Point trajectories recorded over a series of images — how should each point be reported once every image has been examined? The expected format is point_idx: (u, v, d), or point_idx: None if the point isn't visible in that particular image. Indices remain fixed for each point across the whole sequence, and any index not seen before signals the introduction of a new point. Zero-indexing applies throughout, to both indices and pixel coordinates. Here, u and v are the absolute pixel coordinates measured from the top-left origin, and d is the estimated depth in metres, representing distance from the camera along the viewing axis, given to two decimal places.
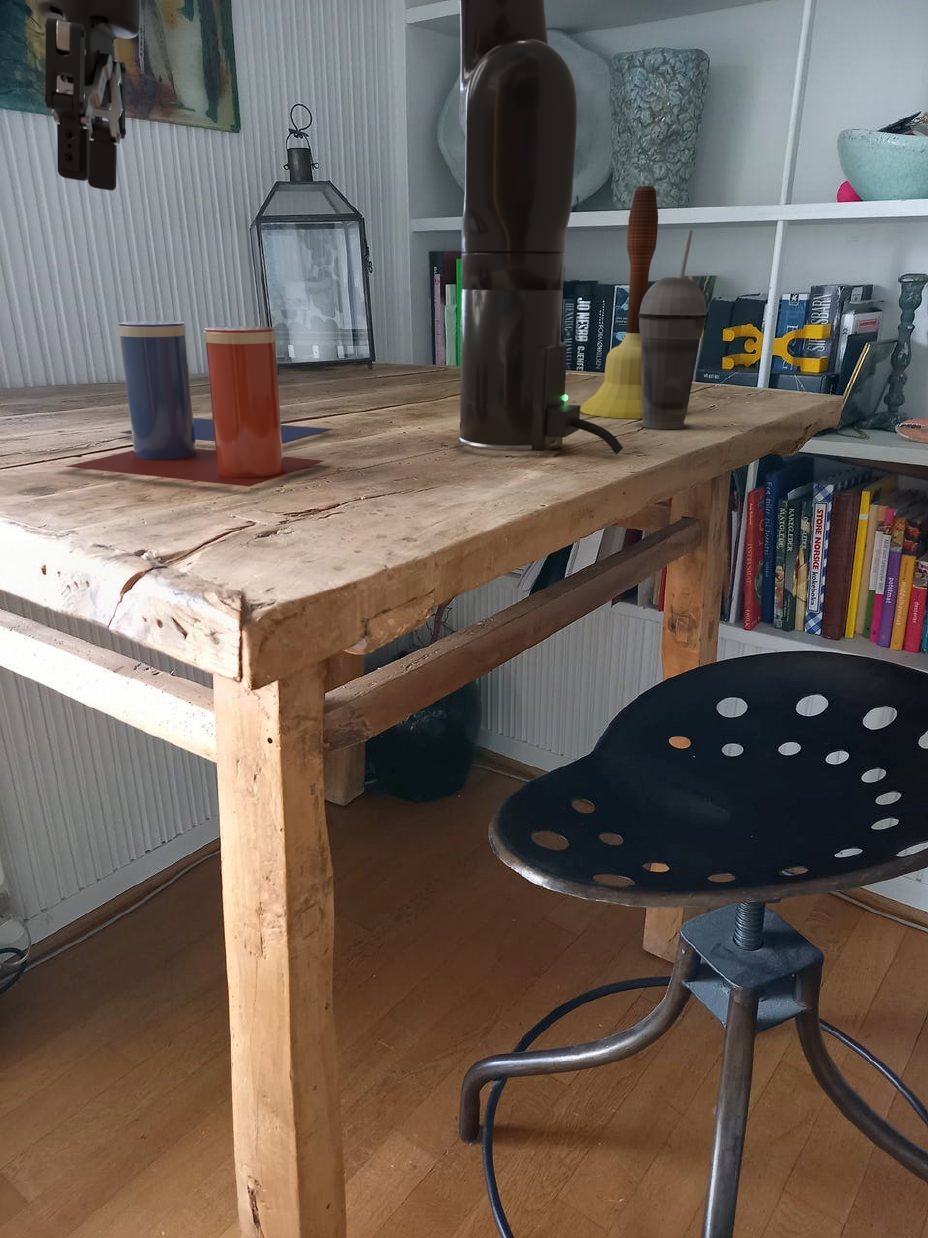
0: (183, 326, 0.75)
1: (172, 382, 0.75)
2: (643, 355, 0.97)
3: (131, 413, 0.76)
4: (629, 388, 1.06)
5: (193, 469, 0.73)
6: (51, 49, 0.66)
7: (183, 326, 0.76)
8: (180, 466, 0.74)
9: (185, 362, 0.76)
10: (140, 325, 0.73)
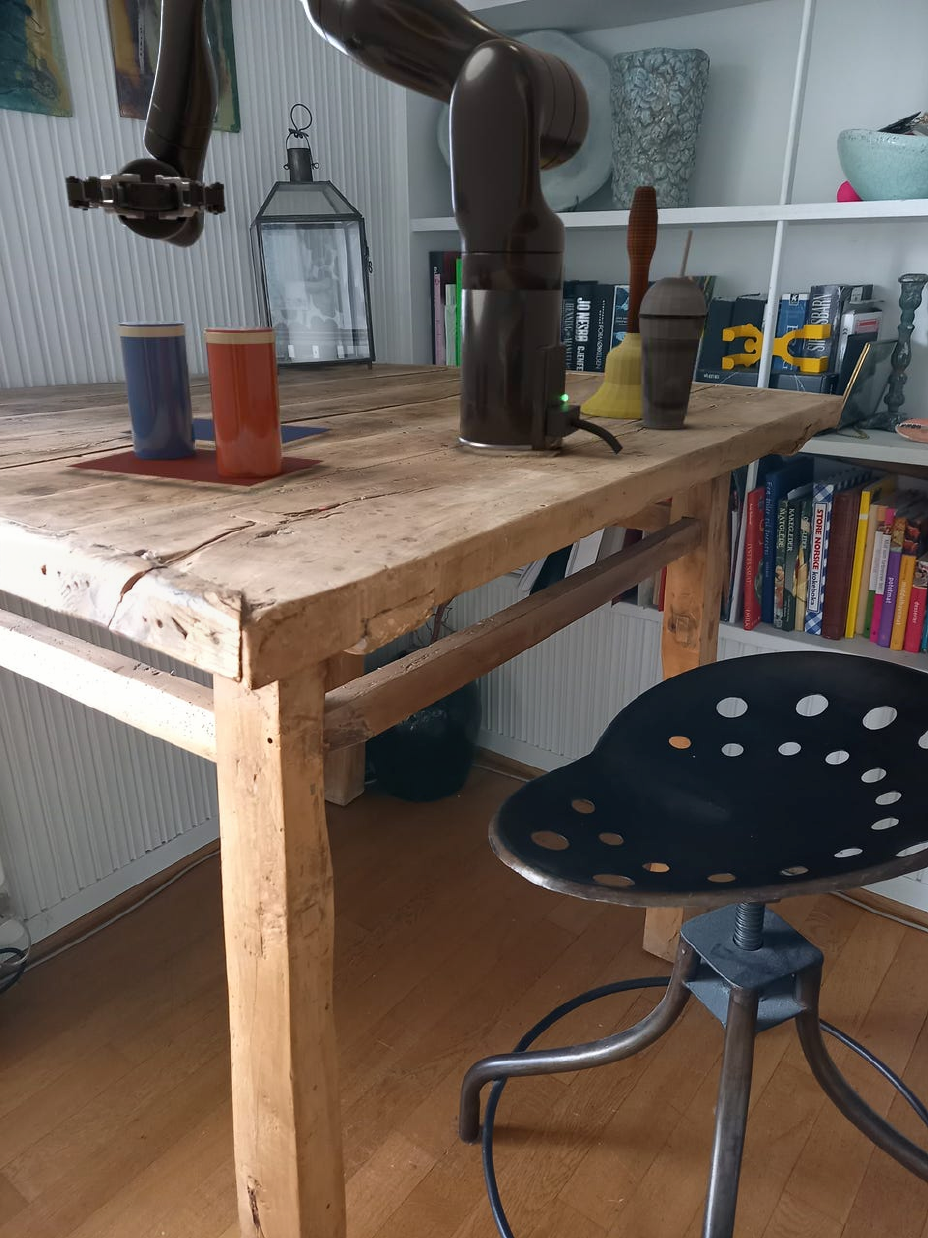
0: (183, 326, 0.75)
1: (172, 382, 0.75)
2: (643, 355, 0.97)
3: (131, 413, 0.76)
4: (629, 388, 1.06)
5: (193, 469, 0.73)
6: None
7: (183, 326, 0.76)
8: (180, 466, 0.74)
9: (185, 362, 0.76)
10: (140, 325, 0.73)
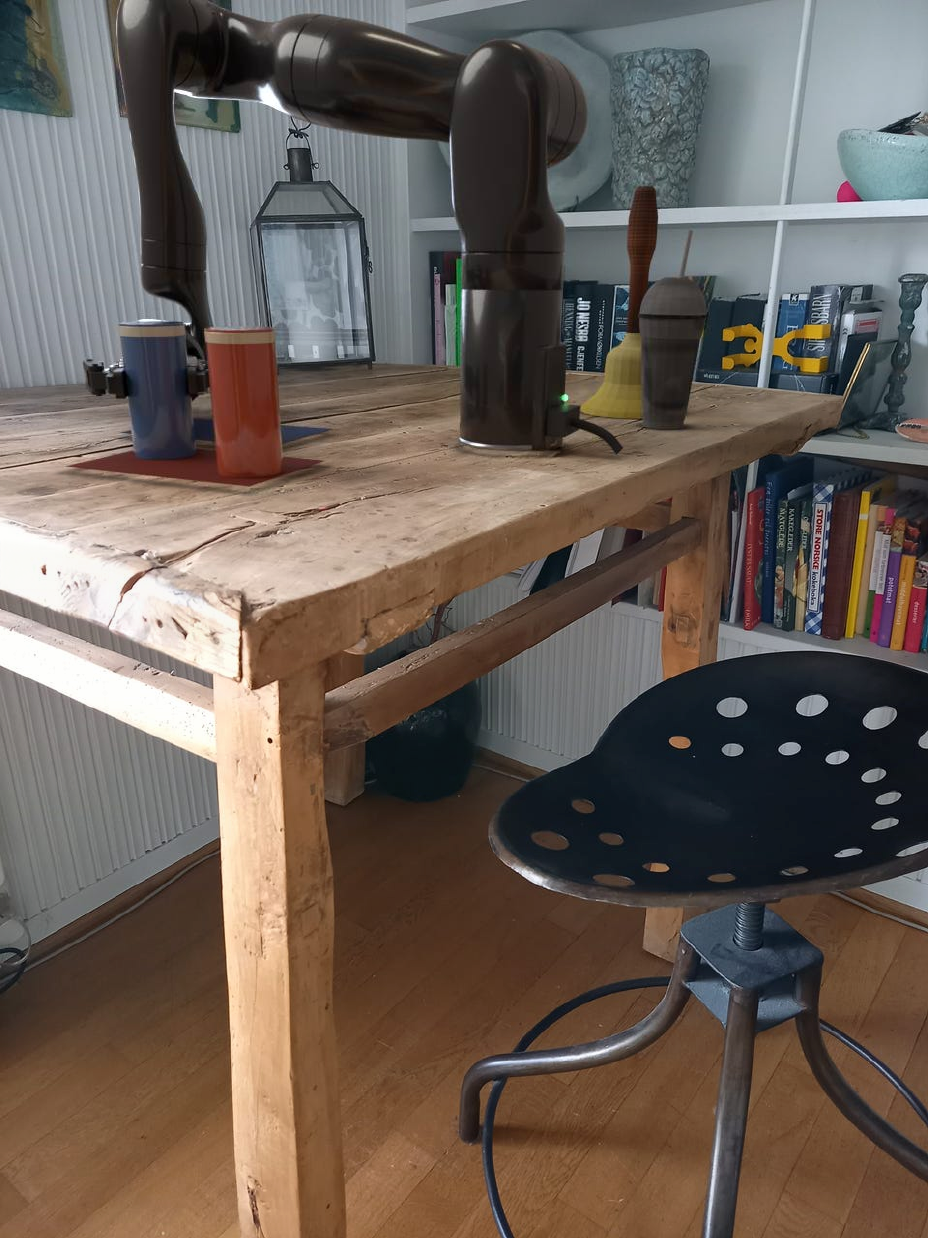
0: (183, 326, 0.75)
1: (172, 382, 0.75)
2: (643, 355, 0.97)
3: (131, 413, 0.76)
4: (629, 388, 1.06)
5: (193, 469, 0.73)
6: (87, 385, 0.80)
7: (183, 326, 0.75)
8: (180, 466, 0.74)
9: (184, 362, 0.76)
10: (140, 325, 0.73)
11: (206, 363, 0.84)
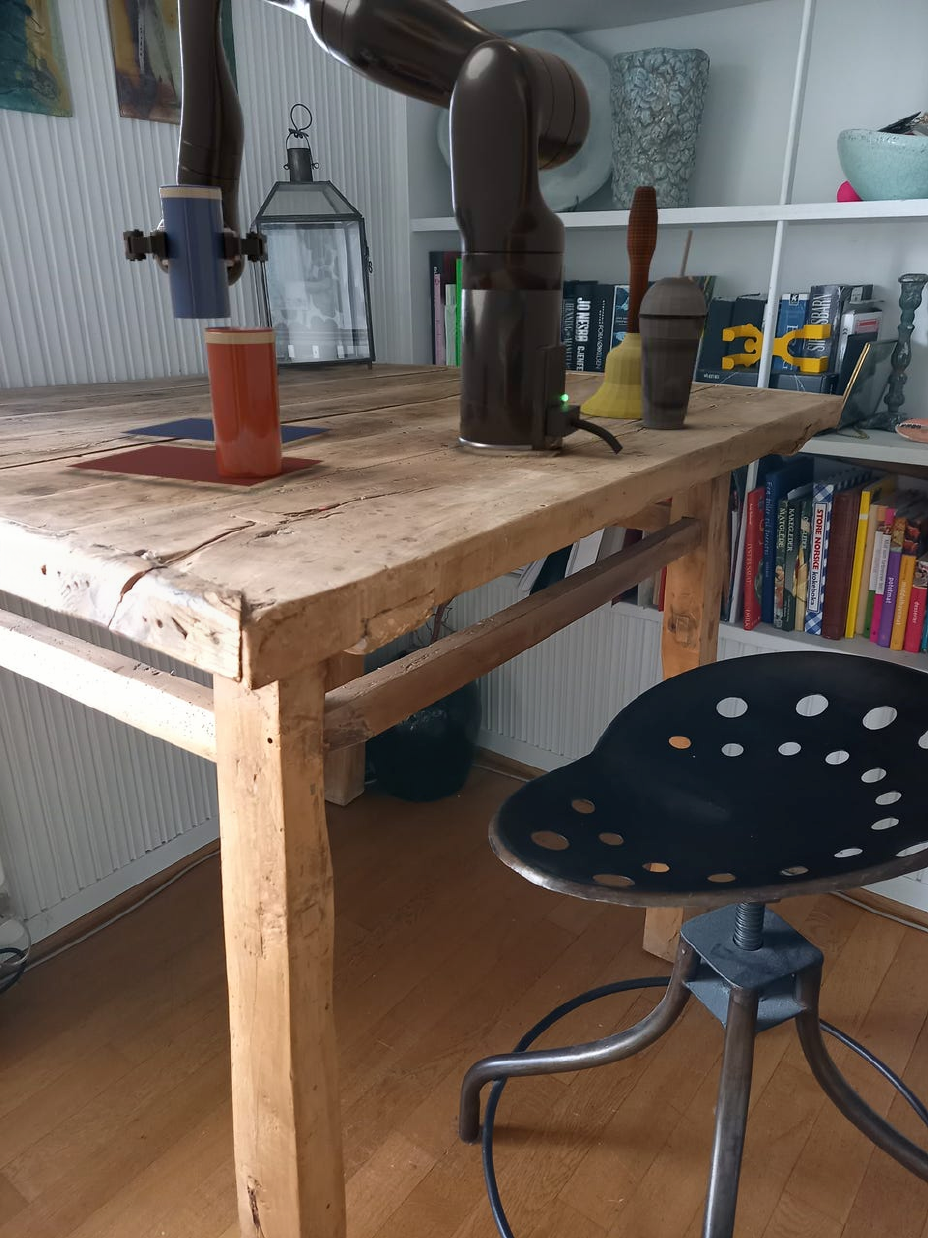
0: (220, 191, 0.80)
1: (210, 243, 0.80)
2: (643, 355, 0.97)
3: (171, 274, 0.81)
4: (629, 388, 1.06)
5: (193, 469, 0.73)
6: (127, 254, 0.86)
7: (220, 191, 0.81)
8: (180, 466, 0.74)
9: (221, 226, 0.81)
10: (181, 185, 0.78)
11: None
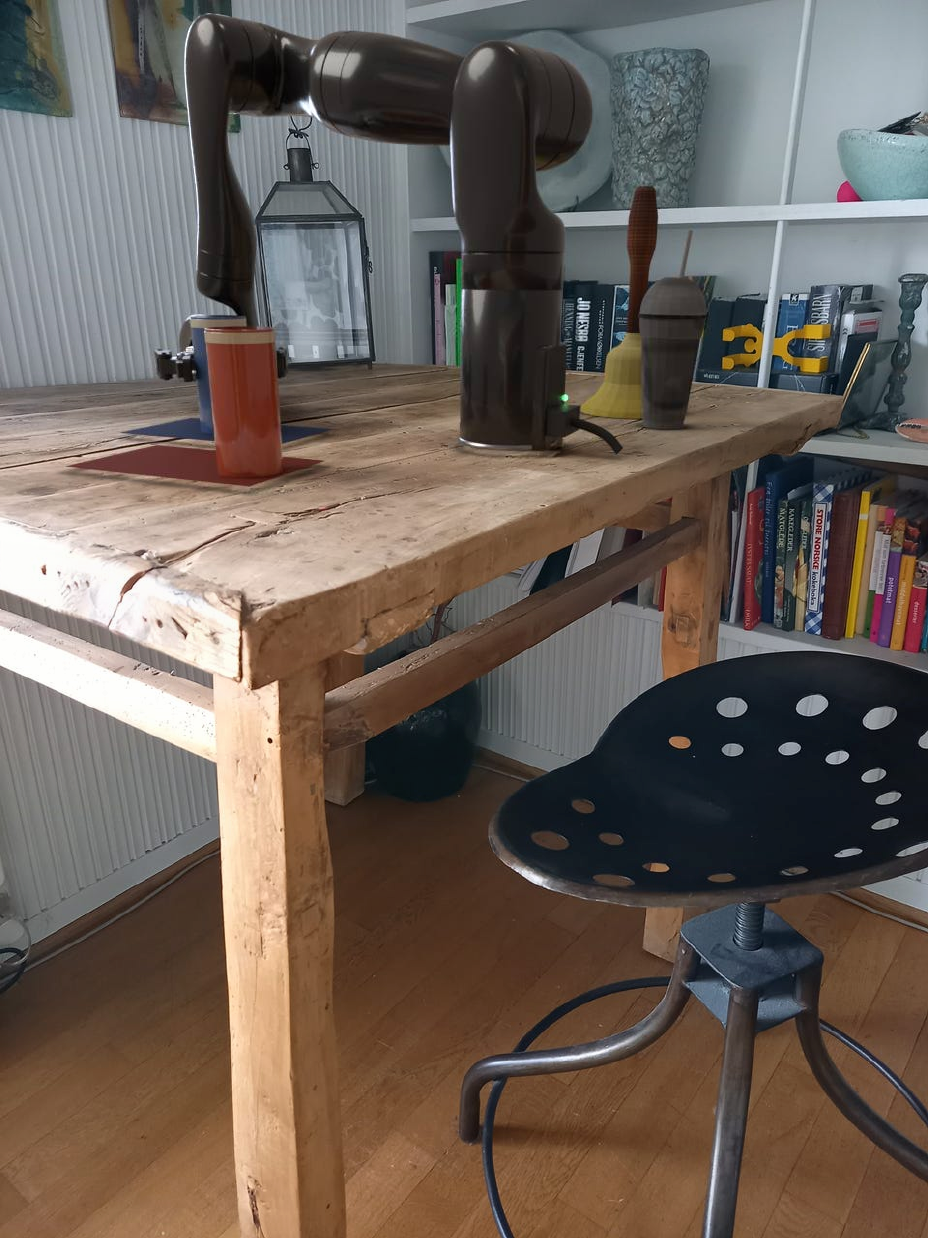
0: (245, 319, 0.88)
1: None
2: (643, 355, 0.97)
3: (199, 394, 0.88)
4: (629, 388, 1.06)
5: (193, 469, 0.73)
6: (157, 371, 0.93)
7: (245, 319, 0.88)
8: (180, 466, 0.74)
9: None
10: (210, 318, 0.85)
11: None
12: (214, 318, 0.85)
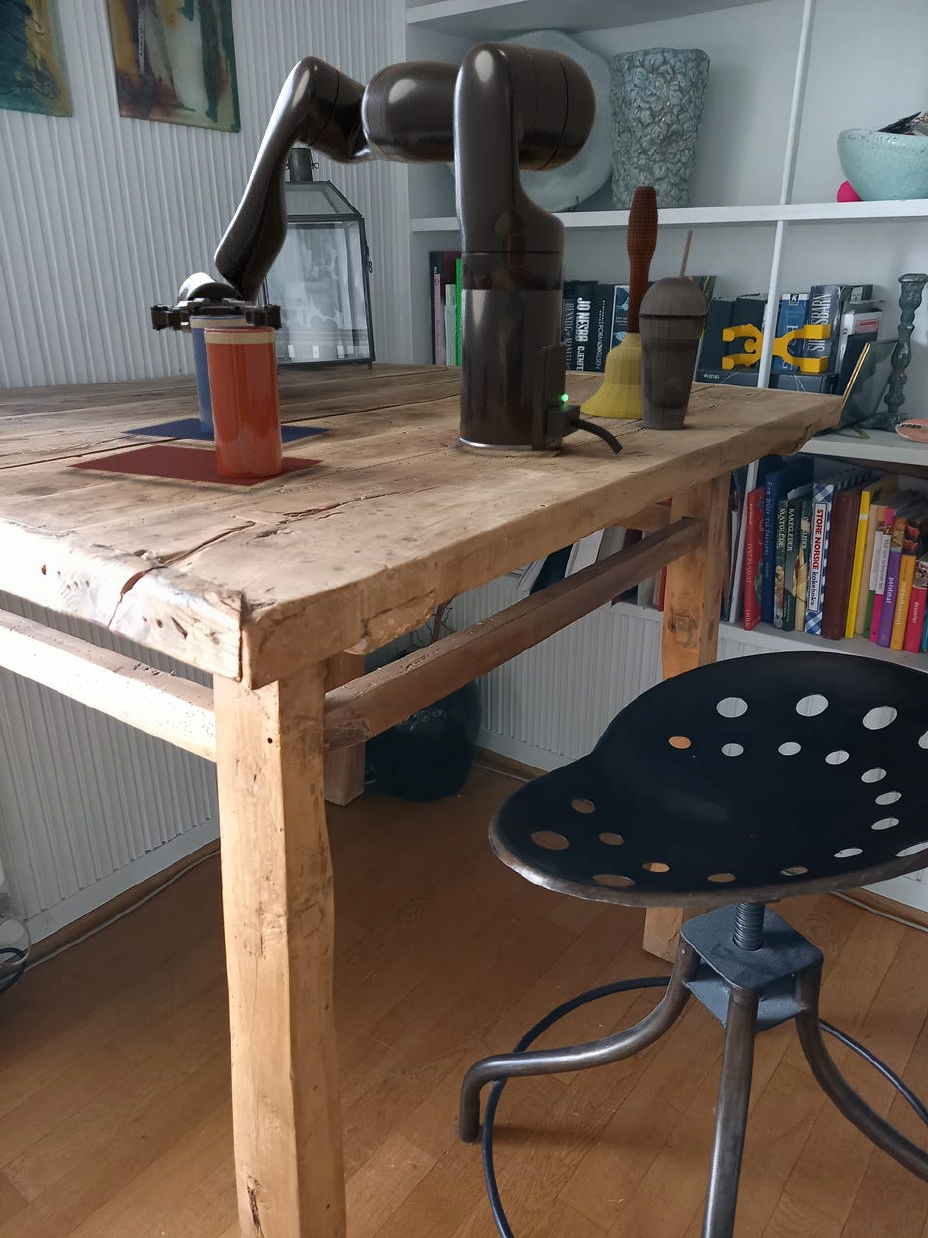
0: (245, 319, 0.88)
1: None
2: (643, 355, 0.97)
3: (199, 394, 0.88)
4: (629, 388, 1.06)
5: (193, 469, 0.73)
6: None
7: (245, 319, 0.88)
8: (180, 466, 0.74)
9: None
10: (210, 318, 0.85)
11: None
12: (214, 318, 0.85)
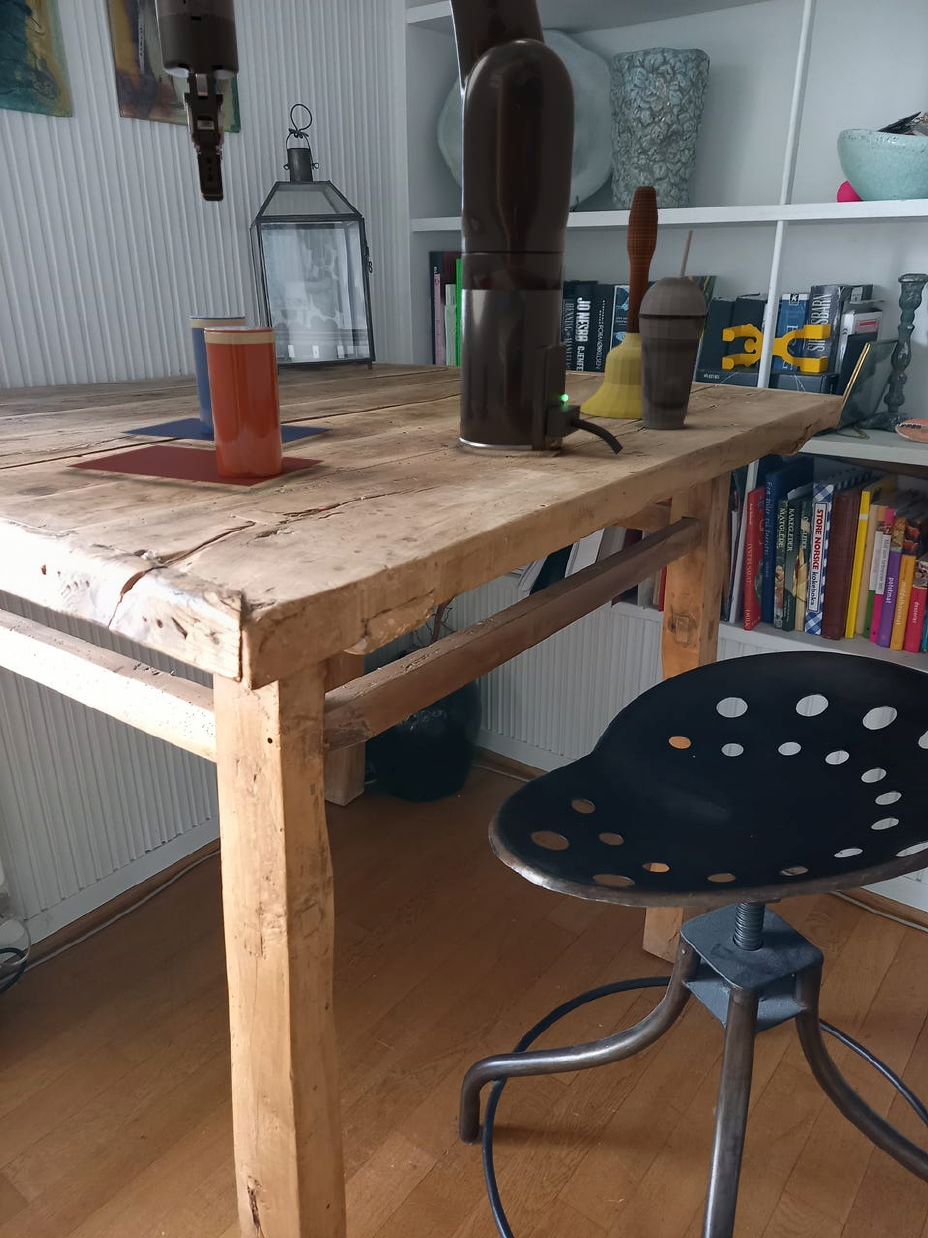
0: (245, 319, 0.88)
1: None
2: (643, 355, 0.97)
3: (199, 394, 0.88)
4: (629, 388, 1.06)
5: (193, 469, 0.73)
6: None
7: (245, 319, 0.88)
8: (180, 466, 0.74)
9: None
10: (210, 318, 0.85)
11: None
12: (214, 318, 0.85)
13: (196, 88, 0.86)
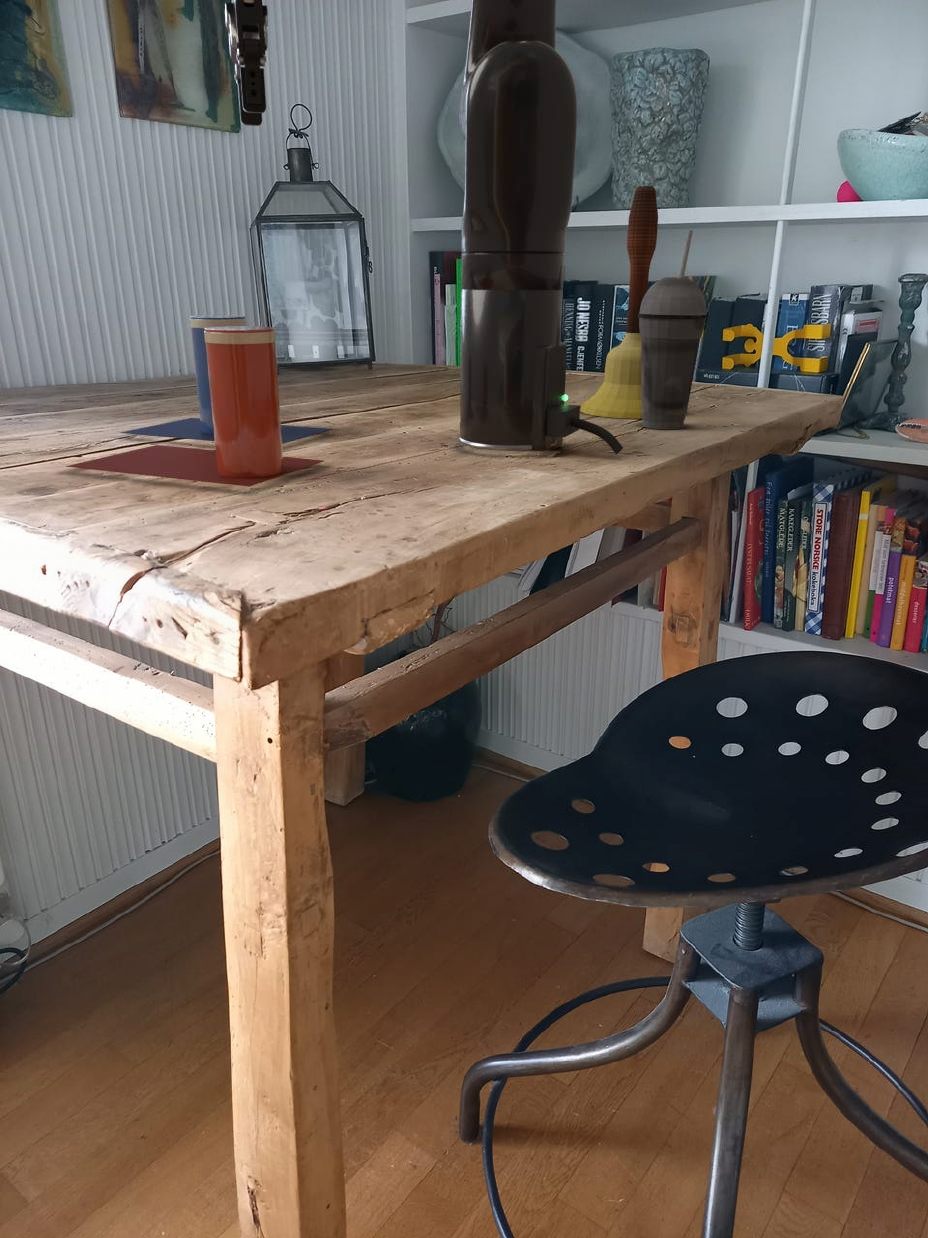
0: (245, 319, 0.88)
1: None
2: (643, 355, 0.97)
3: (199, 394, 0.88)
4: (629, 388, 1.06)
5: (193, 469, 0.73)
6: None
7: (245, 319, 0.88)
8: (180, 466, 0.74)
9: None
10: (210, 318, 0.85)
11: None
12: (214, 318, 0.85)
13: None
